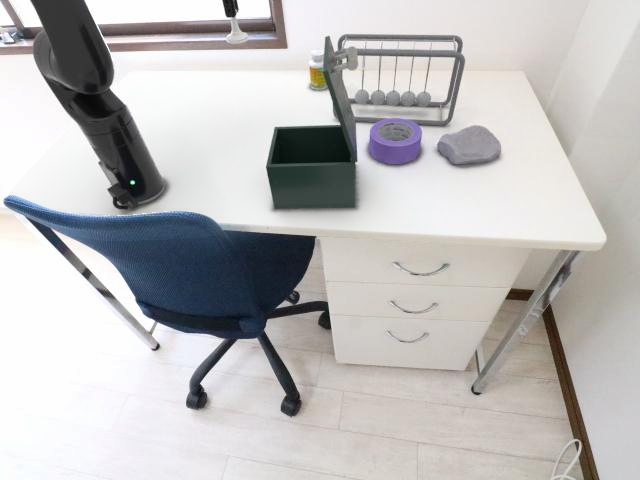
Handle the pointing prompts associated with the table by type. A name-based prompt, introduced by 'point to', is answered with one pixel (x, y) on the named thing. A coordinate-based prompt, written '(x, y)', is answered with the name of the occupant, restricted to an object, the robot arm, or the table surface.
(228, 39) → the chess piece
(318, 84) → the supplement bottle
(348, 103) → the bin lid
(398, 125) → the tape roll
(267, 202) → the table surface
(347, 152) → the waste bin
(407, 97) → the newton's cradle
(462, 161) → the stone block
